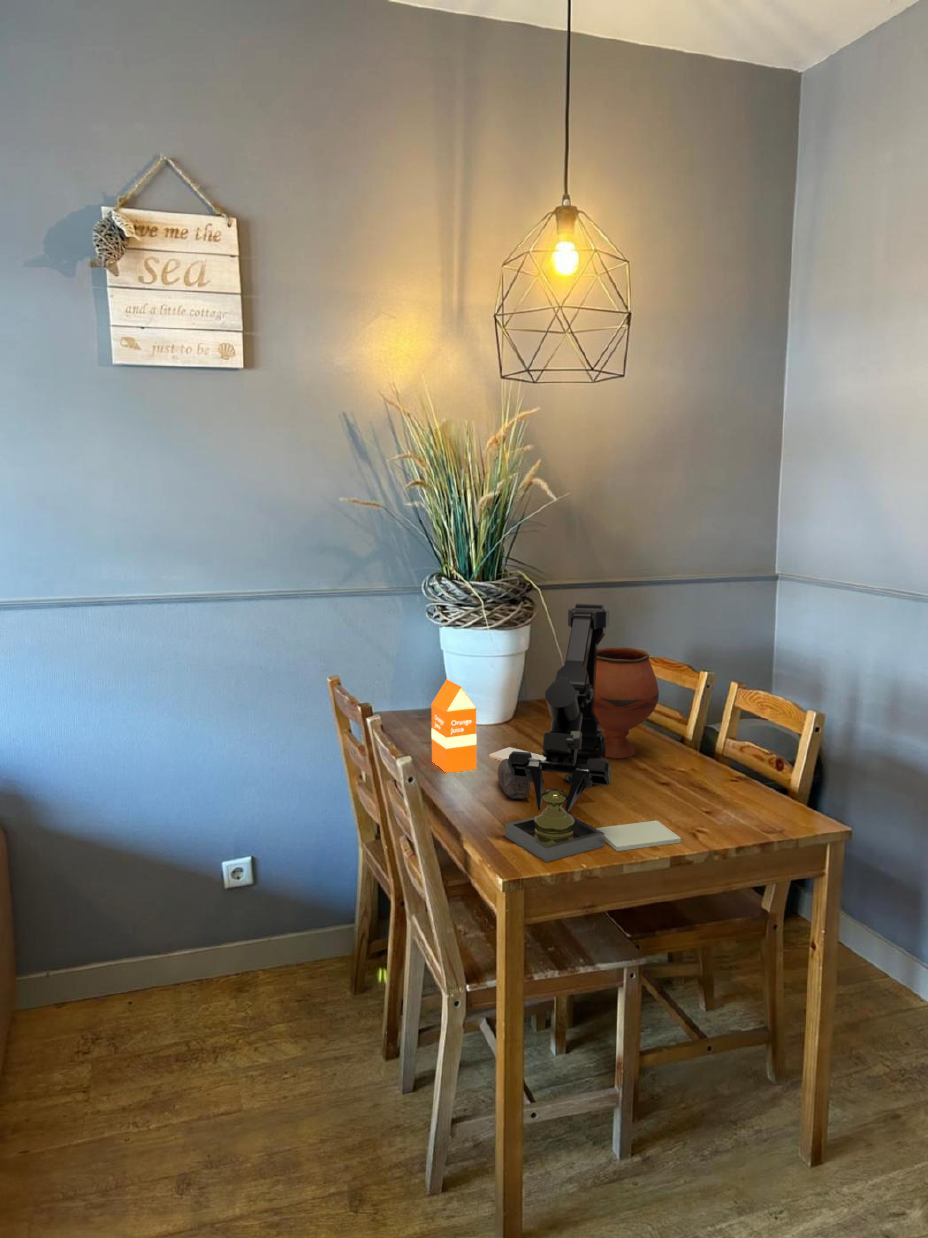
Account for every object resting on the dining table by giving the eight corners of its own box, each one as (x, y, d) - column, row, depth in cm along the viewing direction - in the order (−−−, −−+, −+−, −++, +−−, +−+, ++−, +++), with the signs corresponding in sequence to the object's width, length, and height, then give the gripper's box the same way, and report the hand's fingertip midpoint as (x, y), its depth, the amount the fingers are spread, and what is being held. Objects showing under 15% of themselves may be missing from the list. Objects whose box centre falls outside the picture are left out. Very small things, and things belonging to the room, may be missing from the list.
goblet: (575, 763, 208) (576, 659, 204) (579, 739, 226) (581, 644, 222) (658, 767, 204) (661, 662, 200) (655, 743, 223) (658, 646, 219)
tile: (616, 851, 158) (617, 847, 158) (595, 832, 167) (595, 828, 167) (681, 842, 162) (681, 838, 162) (656, 824, 171) (656, 820, 171)
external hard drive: (510, 752, 218) (551, 763, 210) (489, 760, 212) (530, 771, 204) (510, 746, 217) (551, 756, 209) (489, 754, 211) (530, 765, 203)
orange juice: (445, 774, 200) (445, 688, 197) (431, 763, 208) (430, 680, 205) (477, 769, 203) (477, 685, 200) (461, 758, 211) (461, 677, 208)
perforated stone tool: (492, 780, 196) (492, 750, 195) (515, 779, 197) (515, 749, 196) (507, 805, 181) (507, 772, 180) (531, 803, 182) (532, 771, 181)
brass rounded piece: (573, 834, 166) (574, 783, 165) (574, 850, 159) (575, 797, 157) (534, 832, 167) (534, 782, 165) (533, 849, 159) (534, 796, 158)
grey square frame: (505, 836, 165) (505, 824, 165) (560, 822, 172) (561, 810, 171) (546, 862, 154) (546, 848, 154) (604, 846, 161) (604, 833, 160)
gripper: (510, 709, 165) (495, 785, 157) (610, 717, 160) (600, 796, 152) (519, 738, 174) (505, 812, 165) (614, 746, 169) (605, 822, 160)
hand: (552, 810), depth 160 cm, fingers closed on brass rounded piece, 5 cm apart
